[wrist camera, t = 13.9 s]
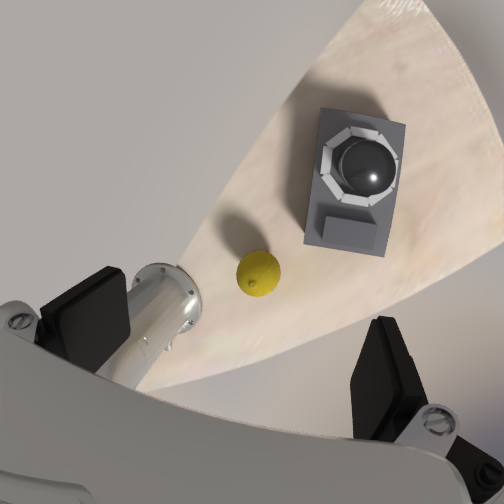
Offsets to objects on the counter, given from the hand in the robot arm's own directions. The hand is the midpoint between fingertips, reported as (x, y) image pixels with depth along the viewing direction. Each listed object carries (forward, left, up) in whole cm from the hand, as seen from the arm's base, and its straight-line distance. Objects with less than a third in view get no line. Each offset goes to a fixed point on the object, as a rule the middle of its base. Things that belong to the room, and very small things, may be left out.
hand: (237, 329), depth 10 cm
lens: (+6, -7, -25) cm, 27 cm away
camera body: (+4, -7, -30) cm, 31 cm away
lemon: (-9, +3, -31) cm, 32 cm away
